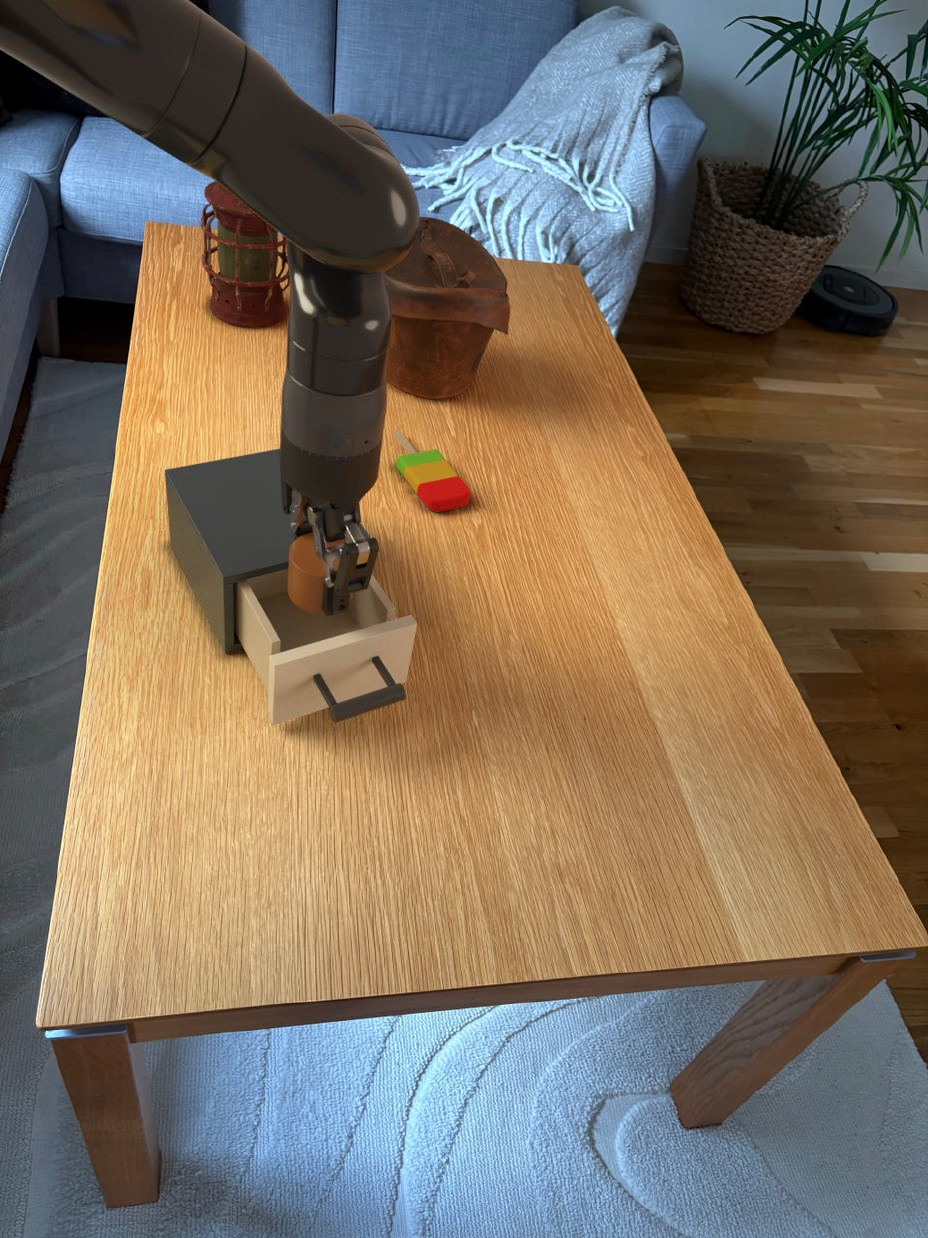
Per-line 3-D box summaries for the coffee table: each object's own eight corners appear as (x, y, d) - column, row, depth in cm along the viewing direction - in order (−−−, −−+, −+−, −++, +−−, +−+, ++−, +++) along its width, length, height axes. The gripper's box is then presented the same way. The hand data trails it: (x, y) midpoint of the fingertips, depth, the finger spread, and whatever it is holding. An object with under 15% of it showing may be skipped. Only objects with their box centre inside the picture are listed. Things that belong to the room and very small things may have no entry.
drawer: (431, 721, 83) (445, 663, 77) (295, 769, 77) (299, 710, 71) (340, 579, 94) (345, 520, 88) (214, 612, 88) (212, 550, 82)
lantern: (281, 338, 126) (288, 98, 105) (192, 321, 125) (180, 76, 104) (299, 297, 135) (309, 68, 114) (216, 281, 134) (210, 48, 113)
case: (454, 433, 117) (479, 301, 104) (328, 369, 122) (337, 236, 110) (521, 380, 129) (551, 255, 116) (403, 324, 134) (419, 199, 122)
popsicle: (430, 515, 105) (433, 502, 103) (374, 440, 113) (375, 427, 112) (472, 506, 107) (475, 493, 106) (414, 433, 116) (416, 420, 114)
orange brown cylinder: (303, 621, 77) (305, 583, 74) (277, 577, 80) (278, 539, 77) (363, 604, 80) (368, 567, 77) (336, 562, 83) (339, 525, 80)
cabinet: (364, 614, 92) (373, 541, 85) (225, 654, 86) (223, 577, 79) (300, 517, 101) (304, 443, 94) (170, 546, 94) (164, 469, 87)
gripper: (423, 470, 66) (396, 632, 77) (338, 364, 73) (325, 526, 85) (326, 491, 62) (313, 657, 74) (247, 377, 70) (247, 544, 82)
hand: (320, 586), depth 80 cm, fingers closed on orange brown cylinder, 5 cm apart
